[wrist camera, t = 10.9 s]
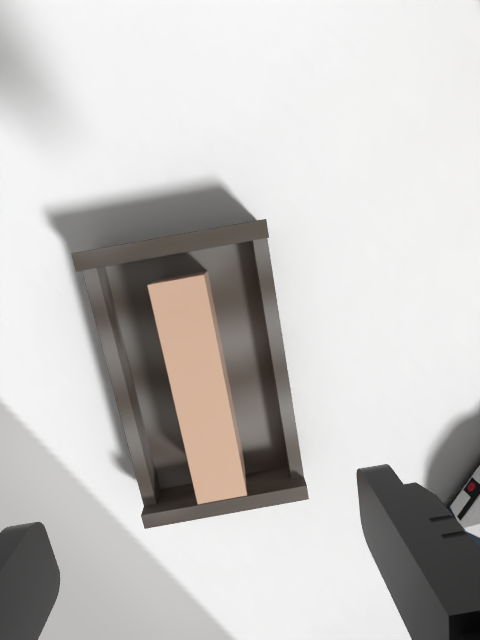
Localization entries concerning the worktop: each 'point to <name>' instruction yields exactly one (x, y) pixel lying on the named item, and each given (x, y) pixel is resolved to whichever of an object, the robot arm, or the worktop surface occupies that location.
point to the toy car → (469, 507)
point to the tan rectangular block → (199, 384)
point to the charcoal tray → (240, 358)
